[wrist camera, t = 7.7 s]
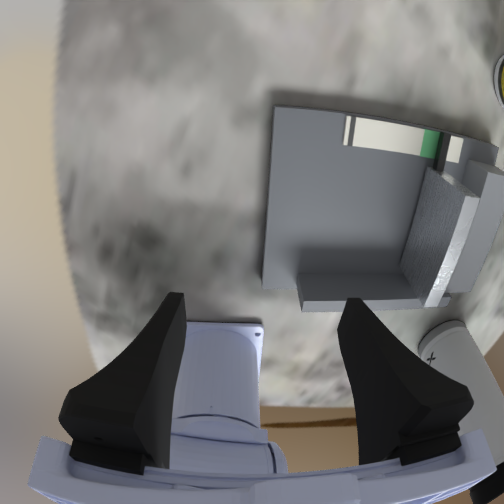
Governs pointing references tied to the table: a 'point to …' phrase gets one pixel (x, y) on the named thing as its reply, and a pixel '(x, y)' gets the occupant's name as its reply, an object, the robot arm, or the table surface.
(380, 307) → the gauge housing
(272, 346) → the table surface
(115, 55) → the table surface
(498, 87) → the supplement bottle
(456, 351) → the travel mug
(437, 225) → the paddle
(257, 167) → the table surface
